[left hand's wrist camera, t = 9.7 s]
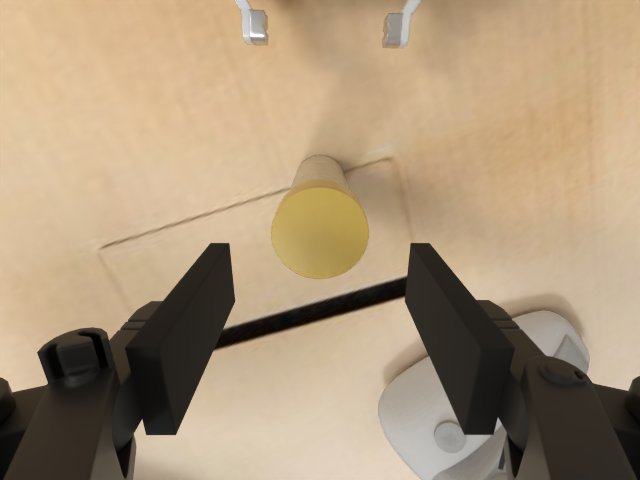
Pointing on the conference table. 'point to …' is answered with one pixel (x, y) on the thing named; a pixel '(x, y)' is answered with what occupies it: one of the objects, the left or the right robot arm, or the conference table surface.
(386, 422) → the projector
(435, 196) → the conference table surface
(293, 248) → the lid
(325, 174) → the bottle
